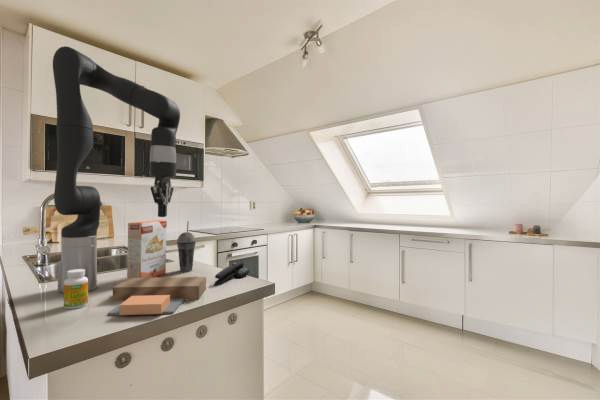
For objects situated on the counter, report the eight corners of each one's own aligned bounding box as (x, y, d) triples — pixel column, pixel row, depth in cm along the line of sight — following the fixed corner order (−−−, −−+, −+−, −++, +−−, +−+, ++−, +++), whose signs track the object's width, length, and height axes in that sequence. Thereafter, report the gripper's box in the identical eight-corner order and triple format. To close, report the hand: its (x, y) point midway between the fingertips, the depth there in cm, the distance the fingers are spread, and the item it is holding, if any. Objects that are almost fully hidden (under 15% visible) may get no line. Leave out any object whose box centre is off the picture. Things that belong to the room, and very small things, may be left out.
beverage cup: (172, 272, 119) (173, 221, 119) (182, 268, 127) (183, 220, 126) (189, 273, 118) (190, 222, 118) (199, 269, 125) (199, 220, 125)
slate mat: (107, 315, 76) (107, 313, 76) (126, 301, 86) (126, 299, 86) (173, 313, 78) (173, 311, 78) (184, 300, 88) (184, 298, 88)
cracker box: (141, 283, 104) (141, 223, 104) (126, 282, 105) (126, 222, 105) (167, 273, 118) (167, 220, 117) (153, 272, 119) (153, 219, 119)
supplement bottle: (68, 311, 79) (68, 274, 79) (60, 306, 82) (60, 271, 82) (91, 304, 84) (91, 270, 83) (82, 301, 86) (82, 267, 86)
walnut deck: (112, 301, 87) (112, 287, 86) (128, 290, 96) (128, 277, 96) (198, 299, 89) (198, 285, 89) (205, 289, 99) (206, 276, 99)
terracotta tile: (131, 295, 82) (131, 305, 82) (119, 305, 75) (119, 315, 75) (170, 294, 83) (170, 303, 83) (161, 303, 76) (161, 313, 76)
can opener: (236, 272, 121) (236, 258, 120) (251, 274, 118) (251, 260, 118) (206, 284, 104) (207, 268, 104) (223, 287, 102) (223, 270, 101)
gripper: (159, 163, 101) (158, 215, 101) (141, 158, 88) (140, 218, 88) (182, 164, 102) (181, 215, 102) (168, 159, 88) (166, 218, 89)
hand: (162, 216), depth 95 cm, fingers closed
